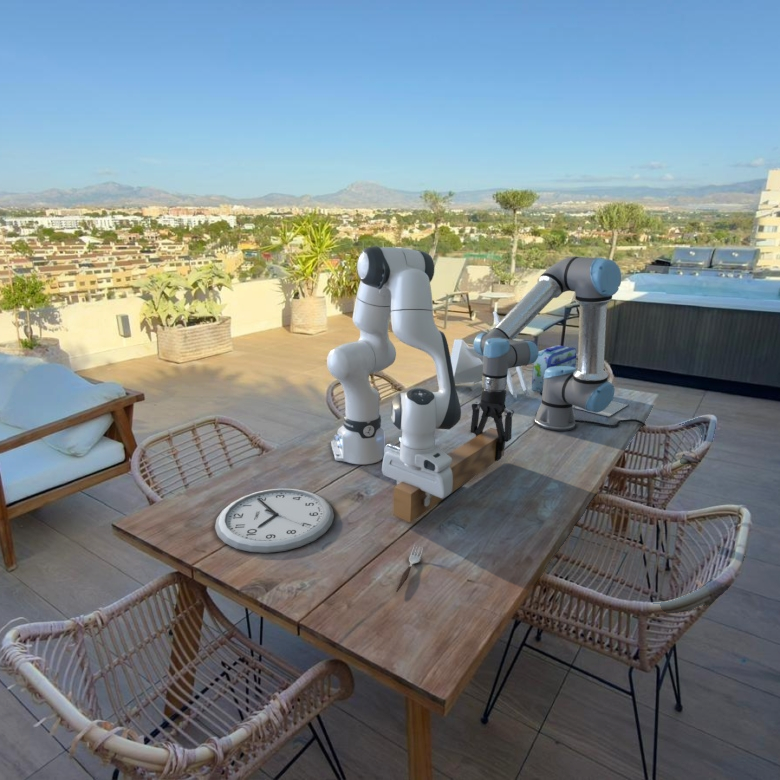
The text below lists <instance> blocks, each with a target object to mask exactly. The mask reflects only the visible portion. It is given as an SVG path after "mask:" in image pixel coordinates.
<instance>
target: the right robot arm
mask: <svg viewBox="0 0 780 780" xmlns="http://www.w3.org/2000/svg"><path fill="white" fill-rule="evenodd" d="M621 283H622V272H621V268H620V266H619V265H618V264H617V262H616V261H614V260H613V259H609V258H603V257H592V256H591V257H590V256H589V257H588V256H587V257H586V256H569V257H566V258H563V259H561V260H559V261H557V262H556V263H554V264H552V265H551V266H550V267H548V268H547V269H546V270H545V271H544V272H543V273H541V275H540V276H539V277H538V278H537V281H536V284H535V285H534V286H533V287H532V288H531V289H530V290H529V291H528V292H526V294H525V295H524V296H523V297H522V298H521V299H520V300H519V301H518V302H517V304H515V306H514V307H513V308H512V309H510V310H509V311H508V312H507V314H506V315H505V316H503V317H502V319H500V322H499V323H498V324H497V325H495V326H493V327H492V329H491V330H490V331H489V332H482V333H478V334H477V335H476V336H475V338H474V341H473V347H474V349H475V351H476V352H477V353H478V354H480V355H482V356H483V375H482V381H481V387H482V388H481V390H480V392H481V393H480V402H477V401H476V402H473V403H472V404H471V410H472V412H471V423H470V433H471V434H474V435H475V437H476V436H478V435H480V434H481V433H483V432H484V430H485V426H486V425H487V421H488V419H489V418H491V419H493V422H494V423H495V429H497V433H498V438H499V440H498V441H497V443H496V457H495V462H498V461H500V460H501V459H502V457H501V453H502V451H503V450H504V451H505V449H506V448H505V447H506V443H507V442H509V441H510V440H512V432H513V429H512V425H513V416H514V414H515V411H514V410H513V409H511V410H510V409H508V408H507V406H506V397H507V390H506V389H507V386H508V384H507V373H508V368H509V369H513V368H516V367H518V366H521V367H524V366H525V367H526V366H529V365H531V364H534V362H535V361H536V360H537V358H538V352H539V348H538V345H537V344H536V343H535V342H534V341H532V340H523V341H517V340H515V339H516V338H517V337H518V336H519V334H520V333H521V332H522V331H523V330H524V329H525V328H526V327H527V326H528V325H529V324H530V323H531V322H532V321H533V320H534V319H535V318H536V317H537V316H538V315H539V314H540V313H541V312H542V311H543V309H545V308H546V306H548V304H549V303H550V302H551V301H552V300H553V299H557V298H559V297H560V296H561V295H562V294H563V293H566V292H574V293H575V295H574V297H575V301H576V302H577V303H578V304H579V319H578V320H579V321H578V323H579V324H578V352H577V353H578V354H577V367H576V366H575V367H570V366H555V367H549V368H547V369H546V370H545V375H544V378H543V379H544V380H543V391H542V393H541V402H540V405H539V407H538V410H537V411H536V413H535V415H534V424H535V425H536V426H537V427H539V428H542V429H544V430H549V431H556V432H567V431H572V430H574V429H575V428H576V423H580V424H581V423H582V424H591V425H597V426H602V427H607V428H617V427H618V426H619V425H620V424H621V423H630V422H631V423H632V422H633V423H639V424H640V425H642V426H643V427H646V426H647V425H646V423H645V422H644V421H642V420H639V419H635V418H629V419H628V418H627V419H620V420H618V421H617V422H616V423H615V424H610V423H609V424H607V423H603V422H598V421H594V420H593V421H592V420H584V419H576V418H575V417H576V416H575V413H574V407H576V406H577V407H580V408H583V409H586V410H587V411H586V412H588V411H592V412H601V411H603V410H604V409H606V408H607V407H608V405H609V404H610V403H611V401H613V398H614V396H615V391H616V389H615V386H614V384H613V383H611V381H608V380H609V374H608V372H607V371H606V370H604V368H605V350H606V349H605V348H606V331H607V330H606V329H607V328H606V326H607V312H608V311H607V309H608V304H609V302H610V301H612V300H613V296H614V295H615V294H617V292H618V291H619V289H620V288H619V287H621ZM573 406H574V407H573ZM480 409H481V411H482V413H481V416H480ZM592 412H591V413H592ZM503 414H504V417H505V418H504V421H503ZM479 417H481V418H479ZM479 419H480V421H479ZM504 448H505V449H504Z"/></svg>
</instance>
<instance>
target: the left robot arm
mask: <svg viewBox="0 0 780 780" xmlns="http://www.w3.org/2000/svg"><path fill="white" fill-rule="evenodd" d="M356 273H357V274H356V275H357V277H358V279H359V280H360V282H359V284H358V287H357V292H356V297H355V303H354V307H353V313H352V319H351V320H352V323H353V325H354V326H355V327H356V329H358V330H359V338H358V340H357V341H352V342H347V343H342V344H340V345H338V346H336V347H335V348H333V349H331V350H330V351H329V352H328V354H327V357H326V367H327V369H328V371H329V373H330V375H331V376H332V377H333V378H334V379H335V380H337V381H338V382H339V383H340V385H341V387H342V391H343V394H344V408H345V412H344V417H343V421H342V422H343V423H342V425H341V426H340V427H339V428H338V429H337V434H334V435H333V439H332V440H331V441H330V446H331V450H332V454H333V457H334V461H337V462H344V463H348V464H353V465H372V464H375V463H379V462H381V460H382V465H381V472H382V474H383V476H384V477H386V478H387V477H388V478H389V479H392V480H394V481H396V485H398V484H399V483H401V482H405V483H408V484H410V485H413V486H416V487H418V488H420V490H422V491H424V492H425V495H426V496H427V497H424V498H423V499H422V503H421V504H422V505H424V506H426V507H427V506H428V505H429V504H430V498H431V497H432V496H433V495H434V496H436V497H439V498H441V499H443V500H444V499H446V498H447V497H448V496H450V495H451V494H452V493H453V492H452V487H453V474H452V470H451V468H450V467H449V465H450V464H451V463H452V458H451V457H450V456H449V455H447V454H448V453H446V452H444V451H443V450H442V449H441V448H439V446H437V445H436V438H435V433H436V430H438V429H439V430H451V429H452V428H453V427H455V426H456V425H457V424H458V423H459V422H460V420H461V419H462V409H461V403H460V399H459V396H458V392H457V391H458V390H457V387H456V384H455V381H454V375H453V369H452V363H451V358H450V357H451V353H450V348H449V343H448V340H447V337H446V334H445V333H444V332H443V331H441V330H440V329H439V328H438V327H437V324H436V323H435V318H434V307H433V306H434V304H433V294H432V293H433V291H432V287H431V282H432V281H433V278H434V275H435V262H434V259H433V257H432V256H431V255H430V254H429V253H427V252H425V251H423V250H420V249H417V250H415V249H410V248H405V247H390V246H389V247H388V246H387V247H386V246H385V247H384V246H382V247H379V246H368V247H365V248H364V249H362V250H361V252H360V253H359V255H358V257H357V262H356ZM390 323H391V330H392V333H393V335H394V336H395V338H397V340H399V341H400V342H401V343H403V344H405V345H406V346H408V347H411V348H414V349H416V350H419V351H421V352H424V353H426V355H428V356H429V357H431V359H432V361H433V363H434V368H435V373H436V379H437V383H438V384H437V385H438V391H430V390H429V389H426V388H421V387H420V388H418V387H415V388H411V389H409V390H407V391H406V392H401V393H398V394H397V395H396V396H395V397H394V398H393V399H392V400H391V415H390V420H391V421H390V422H391V423H392V424H393V425H394V426H395V427H396V428H397V430H399V431H401V437H399V439H398V440H399V442H400V443H399V445H397V444H395V443H392V442H389V443H386V437H385V435H386V434H385V430H384V429H383V428H382V417H381V414H380V408H381V407H380V404H381V402H380V399H381V398H380V397H381V396H380V393H379V390H377V388H376V387H373V386H372V385H371V382H370V375H372V374H374V373H378V372H382V371H384V370H385V369H387V368H389V367H390V366H392V365H393V364H394V363H395V361H396V359H397V350H396V347H395V345H394V343H393V342H392V341H391V340H390V336H389V325H390ZM451 492H452V493H451ZM449 494H450V495H449Z"/></svg>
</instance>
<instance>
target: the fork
mask: <svg viewBox="0 0 780 780" xmlns="http://www.w3.org/2000/svg"><path fill="white" fill-rule="evenodd" d="M415 546H416V548H415ZM418 546H419V548H418ZM421 546H422V548H421ZM424 547H425V546H424V545H421V544H420V545H419V544H417V545H416V543H414V544H413V547H412V549H411V553H410V555H409V556H408V557H409V558H408V561H409V563H410V564H409V565H408V566H407V568H406V569H405V570H404V572H403V573H402V576H401V578H400V581H399V583H398V585H397V588H396V591H395V592H396V593H398V592H399V590H400V589H401V587H402V586H403V585H404V583H405V582H406V581H407V579H408V577H409V574H410V571H411V568H412V566H413V565H415V564H418V563H419V562H421V559H422V555H423V551H424ZM414 550H415V551H414ZM417 550H418V551H417ZM420 551H421V552H420Z"/></svg>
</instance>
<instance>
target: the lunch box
mask: <svg viewBox="0 0 780 780" xmlns="http://www.w3.org/2000/svg"><path fill="white" fill-rule="evenodd" d="M576 362H577V348H576V347H571V346H565V345H553V346H550V347H546V348H545V349H542V350H538V358H537V360H536V361H535V362H534V363H532V364H533V365H532V376H531V377H532V378H531V390H532V391H533V392H537V393H541V394H542V391H543V380H544V379H543V378H544V375H545V370H546V369H547V368H549V367H555V366H570V367H575V368H576V364H577V363H576Z"/></svg>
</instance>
